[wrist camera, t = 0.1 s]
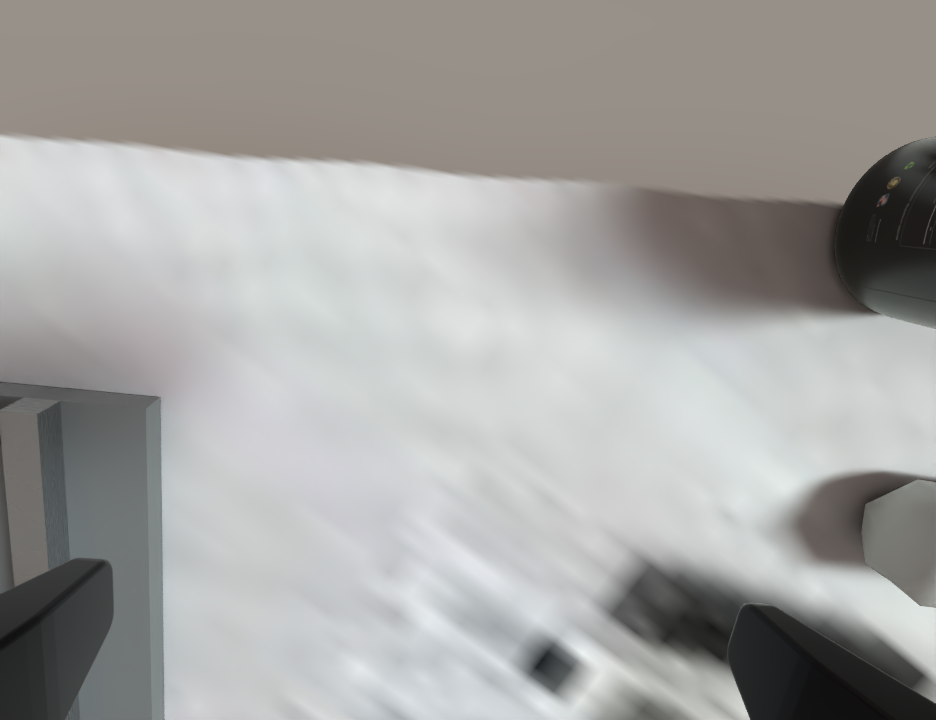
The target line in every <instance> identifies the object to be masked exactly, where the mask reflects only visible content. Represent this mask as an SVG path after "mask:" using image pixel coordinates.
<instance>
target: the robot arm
mask: <svg viewBox="0 0 936 720" xmlns="http://www.w3.org/2000/svg"><path fill="white" fill-rule="evenodd" d="M113 617H114V587H113V568H112V565H111V563H110V562H109V561H108V560H106V559H95V558H74V559H72V560H70V561H68V562H65V563H63V564H61V565H59V566H57V567H55V568H53V569H51V570H49V571H47V572H45V573H42V574H40V575H38V576H36V577H34V578H32V579H30V580H28V581H26V582H24V583H22V584H19V585H17V586H15V587H13V588H11V589H9V590H7V591H5V592H3V593H1V594H0V720H66V718H67V716H68V714H69V712H70V710H71V708H72V706H73V704H74V701H75V699H76V697H77V695H78V693H79V691H80V689H81V687H82V685H83V683H84V681H85V679H86V677H87V675H88V673H89V671H90V669H91V667H92V665H93V663H94V661H95V659H96V657H97V655H98V653H99V651H100V649H101V647H102V645H103V643H104V641H105V639H106V637H107V635H108V632H109V630H110V628H111V625H112V621H113ZM727 656H728V662H729V666H730V668H731V671H732V674H733V676H734V679H735V681H736V684H737V687H738V689H739V692H740V694H741V697H742V699H743V702H744V705H745V707H746V710H747V712H748V715H749V718H750V720H936V703H934V702H932V701H931V700H929V699H927V698H926V697H924V696H922V695H921V694H919V693H917V692H916V691H914V690H912V689H911V688H909V687H907V686H906V685H904V684H902V683H901V682H899V681H898V680H896V679H894V678H893V677H891V676H889V675H888V674H886V673H884V672H883V671H881V670H879V669H878V668H876V667H874V666H873V665H871V664H869V663H868V662H866V661H864V660H863V659H861V658H860V657H858V656H856V655H855V654H853V653H851V652H850V651H848V650H846V649H845V648H843V647H841V646H840V645H838V644H836V643H835V642H833V641H831V640H830V639H828V638H826V637H825V636H823V635H822V634H820V633H818V632H817V631H815V630H813V629H812V628H810V627H808V626H807V625H805V624H803V623H802V622H800V621H798V620H797V619H795V618H793V617H792V616H790V615H788V614H787V613H785V612H784V611H782V610H780V609H779V608H777V607H775V606H773V605H770V604H759V603H746V604H744V605H743V606H742V607H741V608H740V610H739V612H738V616H737V619H736V622H735V625H734V628H733V631H732V634H731V638H730V641H729V644H728V650H727Z"/></svg>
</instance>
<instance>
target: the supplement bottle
mask: <svg viewBox="0 0 936 720" xmlns="http://www.w3.org/2000/svg"><path fill="white" fill-rule="evenodd" d="M835 259H836V264H837V268H838V271H839V274H840V276H841V278H842V281H843V282H844V284H845V286H846V288H847V289H848V290H849V292H850V293H851V294H852V295H853V296H854V297H855V298H856V299H857V300H858V301H859V302H860V303H861V304H863V305H864V306H866V307H867V308H869V309H871V310H873V311H875V312H877V313H880V314H882V315H885V316H888V317H892V318H895V319H899V320H903V321H906V322H910V323H914V324H918V325H922V326H926V327H930V328H934V329H936V137H931V138H926V139H921V140H918V141H914V142H911V143H909V144H907V145H904V146H902V147H900V148H898V149H896V150H894V151H892V152H891V153H889V154H888V155H886V156H884V157H883V158H882V159H880V160H879V161H878V162H877V163H876V164H874V165H873V166H872V167H871V168H870V169H869V170H868V171H867V172H866V173H865V174H864V175H863V176H862V178H861V179H860V180H859V181H858V182H857V184H856V185H855V187H854V188H853V189H852V191H851V193H850V194H849V196H848V198H847V200H846V202H845V204H844V206H843V208H842V211H841V213H840V216H839V220H838V223H837V228H836V233H835Z"/></svg>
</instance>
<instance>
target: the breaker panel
mask: <svg viewBox="0 0 936 720" xmlns="http://www.w3.org/2000/svg"><path fill="white" fill-rule="evenodd" d="M74 558H95V559H106V560H108V561H109V562H110V563H111V565H112V568H113V587H114V617H113V621H112V625H111V628H110V630H109V632H108V635H107V637H106V639H105V641H104V643H103V645H102V647H101V649H100V651H99V653H98V655H97V657H96V659H95V661H94V663H93V665H92V667H91V669H90V671H89V673H88V675H87V677H86V679H85V681H84V683H83V685H82V687H81V689H80V691H79V693H78V695H77V697H76V699H75V701H74V704H73V706H72V708H71V710H70V712H69V714H68V716H67V718H66V720H164V664H163V582H162V500H161V418H160V397H152V396H141V395H131V394H120V393H110V392H99V391H89V390H78V389H68V388H57V387H46V386H36V385H25V384H15V383H4V382H0V594H1V593H3V592H5V591H7V590H9V589H11V588H13V587H15V586H17V585H19V584H22V583H24V582H26V581H28V580H30V579H32V578H34V577H36V576H38V575H40V574H42V573H45V572H47V571H49V570H51V569H53V568H55V567H57V566H59V565H61V564H63V563H65V562H68V561H70V560H72V559H74Z"/></svg>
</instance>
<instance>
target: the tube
mask: <svg viewBox="0 0 936 720" xmlns="http://www.w3.org/2000/svg"><path fill="white" fill-rule="evenodd" d="M861 535H862V542H863V549H864V556H865V563H866V565H867V566H869V567H870V568H872V569H873V570H875V571H876V572H878V573H879V574H881V575H882V576H884V577H885V578H887V579H888V580H890V581H891V582H892V583H894V584H895V585H896V586H897V587H898V588H899V589H901V590H902V591H903V592H904V593H905V594H907V595H908V596H909V597H910V598H911V599H912V600H914V601H915V602H916V603H917V604H918V605H920V606H926V607H935V608H936V482H932V481H925V480H918V479H917V480H915V481H913V482H911V483H909V484H907V485H905V486H903V487H900V488H898V489H896V490H894V491H892V492H890V493H888V494H886V495H884V496H882V497H879V498H877V499H875V500H873V501H871V502H869V503H867V504H865V511H864V518H863V524H862V531H861Z"/></svg>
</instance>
